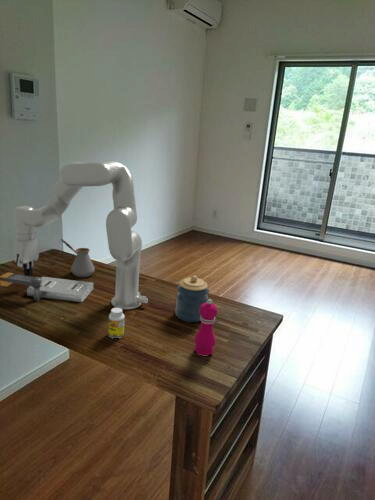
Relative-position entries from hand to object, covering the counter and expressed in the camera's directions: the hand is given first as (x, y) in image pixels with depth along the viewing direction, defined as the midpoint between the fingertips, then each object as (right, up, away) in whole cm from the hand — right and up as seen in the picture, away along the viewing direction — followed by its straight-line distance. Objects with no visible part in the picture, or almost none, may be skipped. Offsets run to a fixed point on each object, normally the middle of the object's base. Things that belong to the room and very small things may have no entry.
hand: (28, 276), depth 163 cm
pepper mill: (+75, -24, -34) cm, 86 cm away
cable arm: (+1, -4, -8) cm, 9 cm away
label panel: (+14, -7, +1) cm, 16 cm away
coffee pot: (+13, 0, +24) cm, 28 cm away
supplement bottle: (+44, -20, -28) cm, 56 cm away
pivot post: (+7, -9, -8) cm, 14 cm away
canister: (+71, -16, -9) cm, 73 cm away
